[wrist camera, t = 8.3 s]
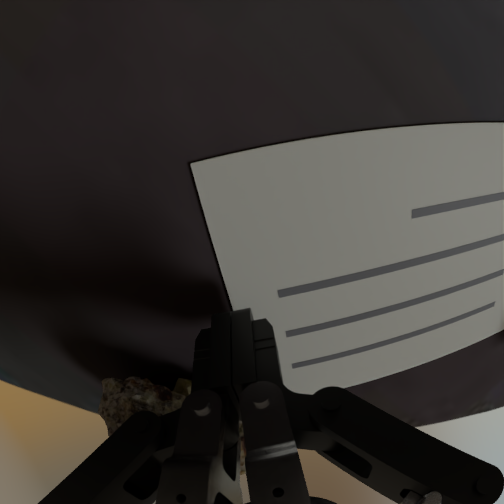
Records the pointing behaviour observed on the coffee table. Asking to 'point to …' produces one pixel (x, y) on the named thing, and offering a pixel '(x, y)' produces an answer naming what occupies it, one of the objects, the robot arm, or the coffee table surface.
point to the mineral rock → (146, 402)
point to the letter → (363, 246)
